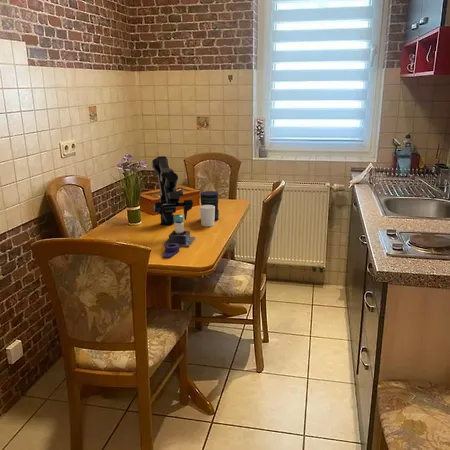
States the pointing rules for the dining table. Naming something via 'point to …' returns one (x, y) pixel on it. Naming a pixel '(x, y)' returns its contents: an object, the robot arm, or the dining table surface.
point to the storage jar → (210, 201)
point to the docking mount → (180, 239)
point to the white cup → (207, 215)
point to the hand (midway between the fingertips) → (176, 220)
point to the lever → (170, 250)
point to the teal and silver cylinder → (179, 225)
